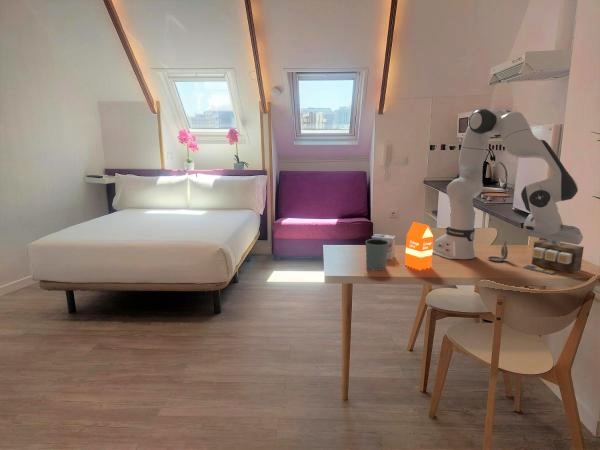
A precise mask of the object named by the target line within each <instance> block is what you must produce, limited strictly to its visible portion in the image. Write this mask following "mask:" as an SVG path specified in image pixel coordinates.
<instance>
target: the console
mask: <svg viewBox="0 0 600 450" xmlns="http://www.w3.org/2000/svg"><path fill="white" fill-rule="evenodd" d="M538 246H540V247H545V248H548V249H547V250H549V249H556V250H560V252H563V251H566V252H571V253H574V255H573V262H571V263H569V264H564V263H559V262H557V261H558V260H556V261H550V260H545V258H542V259H540V258H536V257H531V258H532V259H531V265H533V266H535V265H536V266H538V267H539V266H540V267H542V268H547V269H548V268H549V269H551V270H559V271H562V272H567V273H571V274H575V273H576V272H578V271H580V270H581V269H582V268H581V267H582V262H583V254H584V249H585V248H584V246H581V245H577V244H571V243H566V242H560V245H559V246H558V245H552V244H551V243H550V242H549V241H548V240H539V239H538V240H536V241H534V243H533V248H535V247H538Z"/></svg>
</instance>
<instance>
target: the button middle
mask: <svg viewBox="0 0 600 450" xmlns="http://www.w3.org/2000/svg"><path fill="white" fill-rule="evenodd" d="M559 253H560V250H556V249H549V250H546V252H545V260H550V261H556V260H558V254H559Z"/></svg>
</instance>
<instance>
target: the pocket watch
mask: <svg viewBox="0 0 600 450" xmlns="http://www.w3.org/2000/svg"><path fill="white" fill-rule="evenodd" d="M507 243H508V241H507V240H505V241H504V243H503V244H504V245H502V246H501V252H500V254H501V257H500V256H495V255H494V256H488V257H487V260H489V261H491V262H496V263H497V262H498V263H500V262H504V260H506V259H507V258H508V247H507V246H508V245H506V244H507Z"/></svg>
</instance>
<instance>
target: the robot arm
mask: <svg viewBox="0 0 600 450" xmlns="http://www.w3.org/2000/svg"><path fill="white" fill-rule="evenodd" d="M493 136H494V137H496V138H498V137H501V140H502V143H503V145H504V148H505V150H506V152H507V153H508V155H510V156H512V157H515V158H521V159H524V158H528V159H529V158H537V159H542V160H543V161H545V162H546V163H547V165H548V166H549V168H550V170H551V171H552V173H553V174H554V176H552V177H550V178H546V179H544V180H543V179H542V180H540V181H536V182H533V183H530V184H527V185H525V186H524V187H523V188H522V190H521V193H520V196H521V200H522V202H523V205H524V207H525V210H526V211H528V212H529V213H530V214H529V213H528V216H527V217H526V218H525V219H524V220H525V221H524V222H523V226H522V227H523V232H524V234H525V236H527V237H532V238H537V239H539V238H542V239H546V240H548V241H549V242H550V243H551V244H552V245H558V246H559V245H560V243H565V244H571V245H580V244H581V243H582V241H583V238H584V236H583V233H582V232H581V229H580V228H578V227H577V226H574V225H568V224H563V221H562V218H561V215H560V213H559V209H558V205H557V203H558V202H564V201H569V200H573V198H574V197H575V196H576V194H577V193H578V191H579V190H578V189H579V188H578V184H577V182H576V180H575V178H573V177H572V175H571V174H570V173H569V172H568V170H567V169H566V168H565V166H564V165H563V163H562V162H561V160H560V159H559V157H558V155H557V154H556V153H555V151H554V150H553V148H552V147H551V145H550V144H549V143H548V142H547V141H546V140H545V139H539V138H537V136H535V134H533V131H532V129H531V127H530V124H529V122H528V120H527V118H525V116H524V115H523V113H521V112H520V111H515V110H514V111H509V110H503V109H499V108H498V109H497V108H495V109H493V108H492V109H491V108H489V109H487V108H482V109H481V108H480V109H476V110H475V111H473V112H472V114H471V115H470V117H469V120H468V126H467V128H466V130H465V132H464V135H463V139H462V141H461V146H460V151H459V156H458V162H457V165H458V169H459V171H458V172H459V173H458V174H459V176H458V177H457V178H454V179H453V180H451V182H450V183H448V185H447V186H446V195H447V197H448V200H449V205H450V219H449V220H450V221H449V226H448V227H445V228H444V231H446V232H445V233H444V234H442V235H441V236H439V237H438V238H436V239H435V240H434V241H433V248H432V249H433V250H432V255H433V254H434V255H436V256H439V257H442V258H445V259H448V260H472V259H475V258H476V254H475V248H474V240H475V235H476V234H475V231H476V229H475V221H476V211H475V209H474V203H473V201H474V199H475V198H476V197H478V196H479V195H480V194H481V193H482V192H483V191H484V190H483V189H484V183H483V169H484V168H483V166H484V162H485V157H486V152H487V147H488V142H489V140H490V139H491V138H492V137H493Z"/></svg>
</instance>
